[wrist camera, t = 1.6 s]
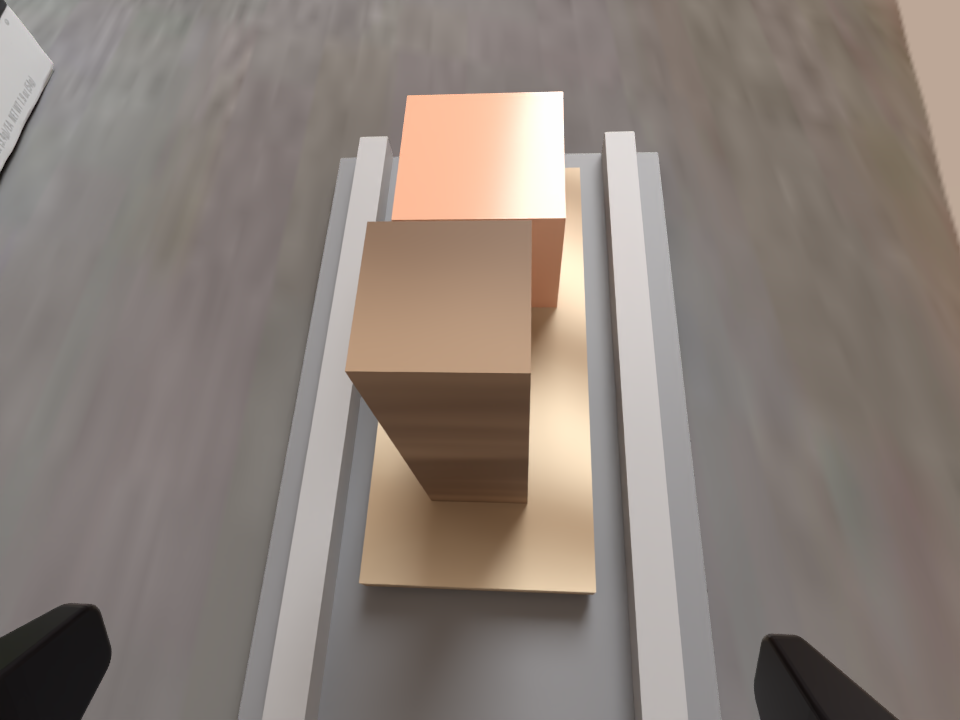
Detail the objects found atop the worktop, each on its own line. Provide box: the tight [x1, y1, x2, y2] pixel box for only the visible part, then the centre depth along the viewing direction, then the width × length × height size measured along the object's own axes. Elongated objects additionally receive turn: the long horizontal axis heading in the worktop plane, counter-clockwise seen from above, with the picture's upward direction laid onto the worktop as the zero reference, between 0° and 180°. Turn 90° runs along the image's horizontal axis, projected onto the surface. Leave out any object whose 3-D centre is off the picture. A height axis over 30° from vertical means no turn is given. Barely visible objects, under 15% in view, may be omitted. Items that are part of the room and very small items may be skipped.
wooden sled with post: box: [345, 168, 596, 595], centre depth 17 cm, size 16×7×11 cm, turn 178°
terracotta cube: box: [391, 92, 566, 307], centre depth 20 cm, size 5×5×5 cm
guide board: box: [238, 131, 721, 720], centre depth 20 cm, size 30×14×2 cm, turn 178°
